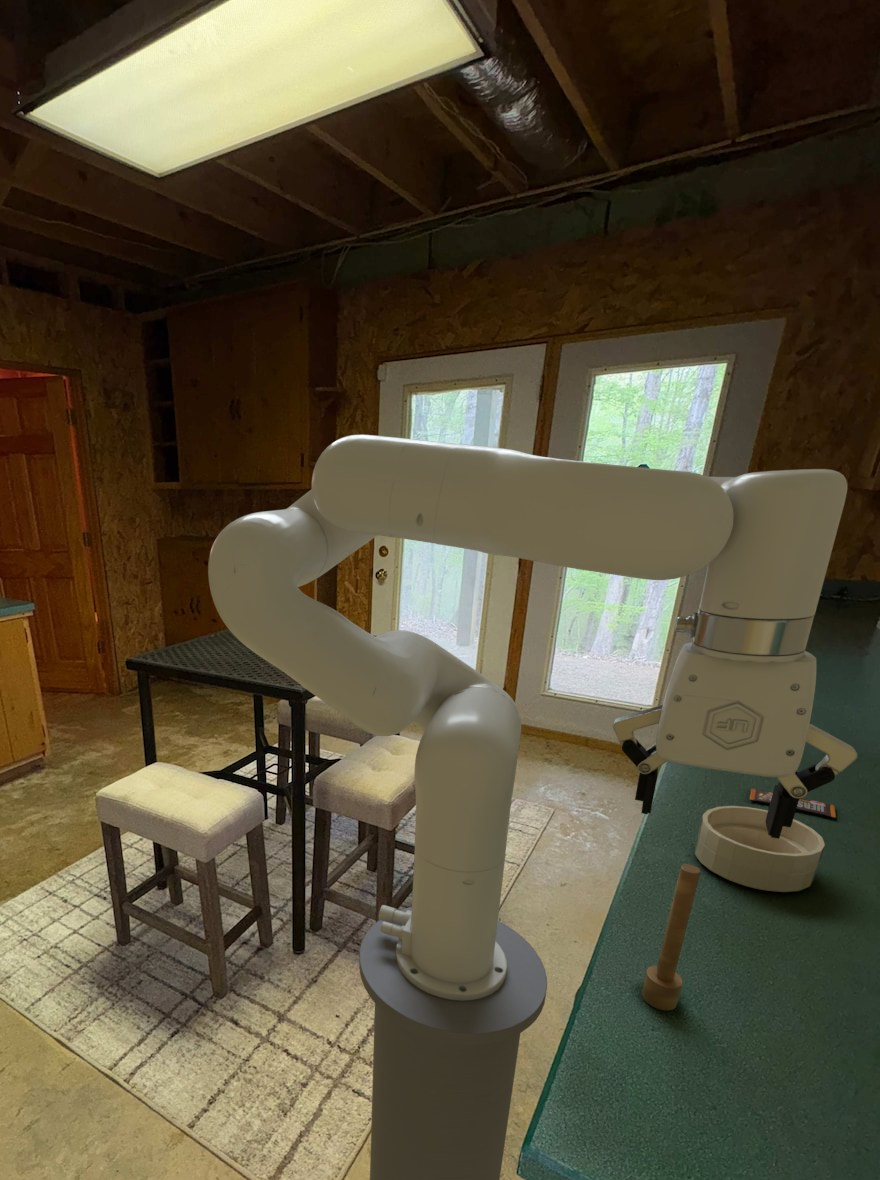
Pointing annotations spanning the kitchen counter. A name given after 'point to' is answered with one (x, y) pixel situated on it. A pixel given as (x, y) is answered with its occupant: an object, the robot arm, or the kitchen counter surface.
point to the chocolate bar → (802, 803)
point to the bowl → (758, 849)
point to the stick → (672, 945)
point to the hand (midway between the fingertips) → (706, 819)
